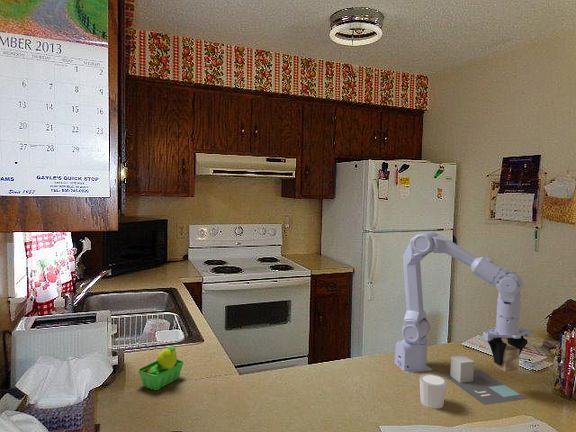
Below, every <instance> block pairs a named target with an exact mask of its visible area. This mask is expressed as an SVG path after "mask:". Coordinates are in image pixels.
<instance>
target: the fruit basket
mask: <svg viewBox="0 0 576 432" xmlns="http://www.w3.org/2000/svg"><path fill="white" fill-rule="evenodd" d="M176 351H177V350H176V347H174V346H172V345H169V346H167V347H166V348H165V349H163V350H162V351H160V352H159V353H158V355H157V356H156V360H155V361H153V362H151V363H149V364H147V365H144V366H142V367H139V368H138V369H137V372H138V374H139V376H140V380H141V383H142V386H143V387H144V388H147V389H149V388H150V389H149V390H153V389H154V391H155V390H157V391H159V390H160V389H162V388H164V387H165V385H166V386H167V385H169V384H171V383H172V382H174V381H176V380H178V379H179V378H180V374H181V371H182V367H183V365H184V363H185V361H184V360H181V359H178V356H177V352H176ZM161 387H162V388H161Z"/></svg>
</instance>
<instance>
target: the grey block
mask: <svg viewBox="0 0 576 432" xmlns="http://www.w3.org/2000/svg"><path fill="white" fill-rule="evenodd" d="M474 366H475V361H474V360H473V359H470V358H469V357H468V356H465V355H456V356H455V355H454V356H450V372H449V373H450V376H451V377H453V378H454V379H455V380H457V381H458V382H460V383H463V382H471V381H473V372H474V370H475V367H474Z"/></svg>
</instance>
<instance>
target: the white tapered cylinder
mask: <svg viewBox="0 0 576 432" xmlns="http://www.w3.org/2000/svg"><path fill="white" fill-rule="evenodd" d="M447 384H448V381H447V379H445V378H444V377H442V376H440V375H438V374H433V373H425V374H424V373H423V374H422V375H421V374H420V376H419V393H420V395H419V396H420V405H421V404H422V405H423V406H425V407H426V408H430V409H434V410H435V409H436V410H437V409H442V408H443V407H444V405H445V397H446V393H447ZM422 405H421V406H422ZM423 406H422V407H423Z"/></svg>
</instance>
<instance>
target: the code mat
mask: <svg viewBox="0 0 576 432" xmlns="http://www.w3.org/2000/svg"><path fill="white" fill-rule="evenodd" d="M441 375H442V376H444V377H445V378H446V379H448V380H449V381H451V382H452V383H453V384H455V385H456V386H458V387H459V388H461V390H463V391H464V392H466V393H467V394H469V395H470V396H471V397H473V398H474V399H476V401H479V402H480V403H481V404H483V405H484V406H486V405H492V404H501V403H507V402H514V401H521V400H527V399H528V398H527V397H525V396H524V395H522V394H521V393H519V392H517V391H516V390H514V389H512V388H510V387H509V386H507V385H506V384H504V383H503V382H501V381H499V380H498V379H496V378H495V377H494V376H491V375H490V374H488V373H486V372H485V371H484V370H481V368H480V369H474V372H473V381H471V382H463V383H460V382H458V381H457V380H455V379H454V378H453V377H451V376H450V372H448V373H447V372H446V373H441Z"/></svg>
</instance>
